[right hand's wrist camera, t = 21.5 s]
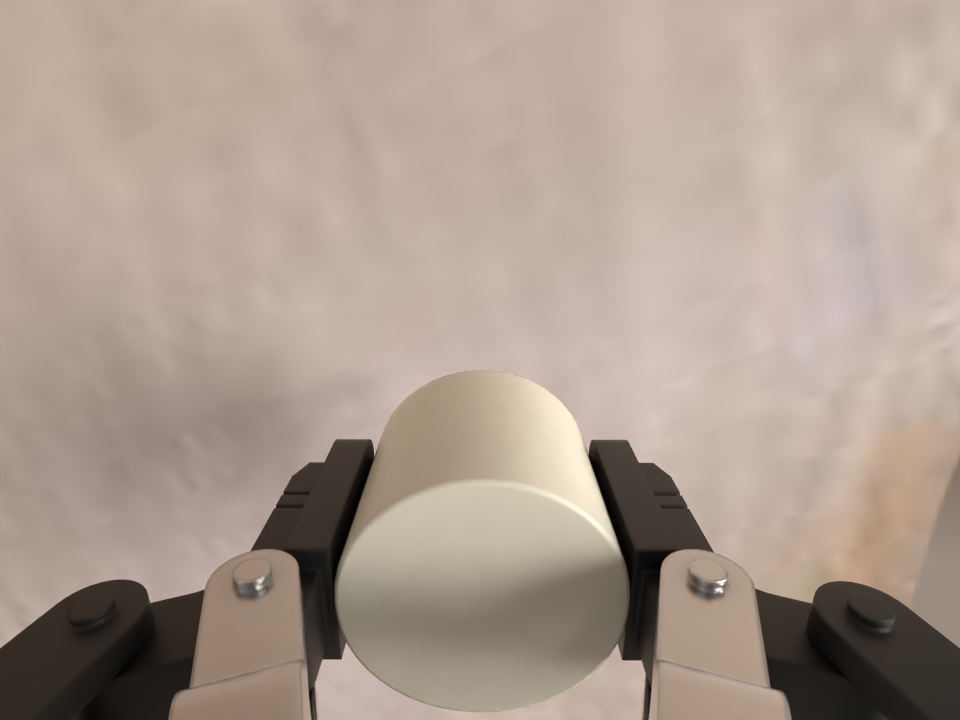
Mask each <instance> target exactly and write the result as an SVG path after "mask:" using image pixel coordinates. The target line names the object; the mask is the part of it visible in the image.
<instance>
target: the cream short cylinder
mask: <svg viewBox="0 0 960 720" xmlns="http://www.w3.org/2000/svg"><path fill="white" fill-rule="evenodd" d="M334 602H335V610H336V616H337V620H338V623H339V626H340V630H341V632H342V634H343V636H344V638H345V640H346V642H347V644H348V646H349V647H350V649H351V650H352V652H353V653H354V655H355V656H356V658H357V659H358V660H359V661H360V662H361V663H362V664H363V665H364V667H365V668H366V669H367V670H368V671H370V672H371V673H372V674H373V675H374V676H375V677H377V678H378V679H379V680H380V681H382V682H383V683H385V684H386V685H388V686H389V687H391V688H392V689H394V690H396V691H398V692H400V693H402V694H404V695H406V696H408V697H410V698H413V699H415V700H418V701H420V702H423V703H426V704H429V705H433V706H436V707H440V708H446V709H451V710H456V711H467V712H497V711H507V710H513V709H518V708H524V707H528V706H531V705H535V704H538V703H541V702H544V701H547V700H549V699H552V698H554V697H556V696H559V695H561V694H563V693H564V692H566V691H568V690H570V689H572V688H574V687H575V686H576V685H578V684H579V683H581V682H582V681H584V680H585V679H587V678H588V677H589V676H590V675H591V674H592V673H593V672H594V671H596V670H597V669H598V668H599V667H600V666H601V665H602V663H603V662H604V661H605V660H606V659H607V658H608V657H609V655H610V654H611V652H612V651H613V649H614V648H615V646H616V645H617V643H618V641H619V639H620V637H621V635H622V632H623V630H624V628H625V624H626V621H627V617H628V613H629V604H630V579H629V575H628V570H627V566H626V563H625V560H624V557H623V554H622V551H621V548H620V545H619V543H618V540H617V537H616V534H615V531H614V528H613V525H612V522H611V519H610V516H609V514H608V511H607V508H606V505H605V502H604V499H603V496H602V493H601V490H600V487H599V485H598V482H597V479H596V476H595V473H594V470H593V467H592V464H591V461H590V459H589V456H588V453H587V450H586V447H585V444H584V441H583V438H582V435H581V433H580V431H579V428H578V426H577V424H576V422H575V420H574V419H573V417H572V415H571V414H570V412H569V411H568V410H567V409H566V408H565V406H564V405H563V404H562V403H561V402H560V401H559V400H558V399H557V398H556V397H555V396H554V395H552V394H551V393H550V392H548V391H547V390H545V389H544V388H543V387H541V386H539V385H537V384H535V383H533V382H531V381H530V380H527V379H524V378H522V377H519V376H516V375H512V374H508V373H504V372H496V371H467V372H459V373H455V374H451V375H448V376H444V377H442V378H439V379H437V380H434V381H432V382H430V383H428V384H426V385H424V386H423V387H421V388H419V389H418V390H417V391H415V392H414V393H412V394H411V395H410V396H409V397H407V398H406V399H405V400H404V401H403V402H402V403H401V404H400V405H399V407H398V408H397V409H396V410H395V412H394V413H393V414H392V416H391V417H390V419H389V421H388V423H387V424H386V426H385V429H384V431H383V434H382V436H381V439H380V442H379V445H378V448H377V451H376V454H375V457H374V460H373V463H372V466H371V469H370V472H369V475H368V478H367V481H366V484H365V487H364V490H363V493H362V496H361V499H360V502H359V505H358V508H357V511H356V514H355V517H354V520H353V522H352V525H351V528H350V531H349V534H348V537H347V540H346V543H345V546H344V549H343V552H342V555H341V558H340V561H339V564H338V567H337V572H336V577H335V581H334Z"/></svg>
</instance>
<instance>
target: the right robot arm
mask: <svg viewBox="0 0 960 720" xmlns="http://www.w3.org/2000/svg"><path fill="white" fill-rule="evenodd" d="M589 459H590V461H591V464H592V467H593V470H594V473H595V476H596V479H597V482H598V485H599V487H600V490H601V493H602V496H603V499H604V502H605V505H606V508H607V511H608V514H609V516H610V519H611V522H612V525H613V528H614V531H615V534H616V537H617V540H618V543H619V545H620V548H621V551H622V554H623V557H624V560H625V563H626V566H627V570H628V575H629V579H630V604H629V613H628V617H627V621H626V624H625V628H624V630H623V632H622V635H621V637H620V639H619V641H618V646H619V650H620V653H621V657H622V660H642V663H643V666H644V669H645V672H646V677H645V684H644V691H643V702H642V716H641V720H960V648H958V647H957V646H956V645H955V644H953V643H952V642H951V641H950V640H948V639H947V638H946V637H944V636H943V635H942V634H941V633H939V632H938V631H937V630H935V629H934V628H933V627H932V626H930V625H929V624H928V623H927V622H925V621H924V620H923V619H921V618H920V617H919V616H918V615H916V614H915V613H914V612H913V611H911V610H910V609H909V608H908V607H906V606H905V605H903V604H902V603H901V602H899V601H898V600H896V599H895V598H893V597H891V596H889V595H888V594H885V593H883V592H881V591H879V590H877V589H874V588H872V587H869V586H865V585H862V584H858V583H853V582H845V581H836V582H829V583H826V584H824V585H822V586H820V587H819V588H818V589H817V590H816V593H815V595H814V599H813V602H812V604H811V603H807V602H803V601H798V600H794V599H790V598H786V597H781V596H777V595H773V594H769V593H766V592H763V591H760V590H758V589H755V587H754V584H753V582H752V580H751V578H750V577H749V575H748V574H747V573H746V572H745V571H744V570H743V569H742V568H741V567H740V566H739V565H737V564H736V563H735V562H733V561H731V560H730V559H728V558H726V557H724V556H721V555H719V554H716V553H714V552H713V550H712V548H711V547H710V545H709V543H708V541H707V540H706V538H705V536H704V534H703V533H702V531H701V529H700V527H699V526H698V524H697V522H696V520H695V519H694V517H693V515H692V513H691V511H690V510H689V509H687V504H686V503H685V501H684V499H683V497H682V496H680V492H679V490H678V489H677V487H676V485H675V483H674V482H673V480H672V478H671V476H669V475H668V474H667V473H665V472H664V471H663V470H661V469H660V468H659V467H658V466H656V465H655V464H654V463H639V462H638V460H637V458H636V456H635V454H634V452H633V450H632V448H631V446H630V444H629V442H628V441H627V440H592V441H591V443H590V448H589ZM373 460H374V448H373V443H372V441H371V440H370V439H337V440H335V442H334V444H333V446H332V448H331V450H330V452H329V454H328V456H327V458H326V460H325V462H324V463H309V464H307V465H306V466H305V467H304V468H302V469H301V470H300V471H298V472H297V473H296V474H295V475H293V476H292V478H291V480H290V481H289V483H288V485H287V487H286V489H285V490H284V495H282V496H281V498H280V499H279V501H278V503H277V505H276V508H274V510H273V512H272V514H271V515H270V517H269V519H268V521H267V523H266V524H265V526H264V528H263V530H262V532H261V533H260V535H259V537H258V539H257V541H256V542H255V544H254V546H253V548H252V549H251V551H250V552H247V553H244V554H241V555H239V556H236V557H234V558H232V559H230V560H229V561H227V562H225V563H224V564H223V565H221V566H220V567H219V568H218V569H217V570H216V571H215V572H214V573H213V574H212V575H211V577H210V578H209V580H208V582H207V584H206V587H205V589H204V590H202V591H199V592H195V593H192V594H188V595H184V596H179V597H175V598H171V599H166V600H162V601H158V602H153V603H150V601H149V597H148V593H147V591H146V589H145V588H144V586H143V585H141V584H140V583H138V582H135V581H131V580H111V581H106V582H101V583H98V584H94V585H91V586H89V587H86V588H84V589H81V590H79V591H77V592H75V593H73V594H71V595H70V596H68V597H66V598H65V599H63V600H62V601H60V602H59V603H58V604H56V605H55V606H54V607H52V608H51V609H50V610H49V611H47V612H46V613H45V614H44V615H42V616H41V617H40V618H38V619H37V620H36V621H35V622H33V623H32V624H31V625H30V626H28V627H27V628H26V629H24V630H23V631H22V632H21V633H19V634H18V635H17V636H16V637H14V638H13V639H12V640H10V641H9V642H8V643H7V644H5V645H4V646H3V647H2V648H0V720H319V716H318V702H317V691H316V684H315V681H316V678H317V675H318V672H319V668H320V665H321V662H322V659H342V655H343V651H344V648H345V644H346V640H345V638H344V636H343V634H342V632H341V630H340V626H339V623H338V620H337V616H336V610H335V602H334V581H335V577H336V572H337V567H338V564H339V561H340V558H341V555H342V552H343V549H344V546H345V543H346V540H347V537H348V534H349V531H350V528H351V525H352V522H353V520H354V517H355V514H356V511H357V508H358V505H359V502H360V499H361V496H362V493H363V490H364V487H365V484H366V481H367V478H368V475H369V472H370V469H371V466H372V463H373Z"/></svg>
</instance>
